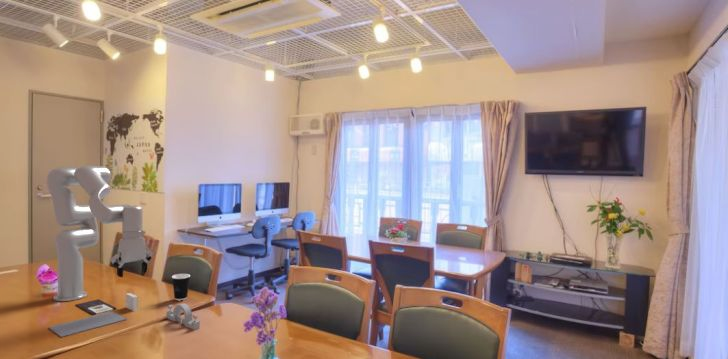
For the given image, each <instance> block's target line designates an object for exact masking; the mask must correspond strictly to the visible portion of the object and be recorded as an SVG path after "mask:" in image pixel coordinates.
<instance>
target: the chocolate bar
mask: <svg viewBox="0 0 728 359" xmlns="http://www.w3.org/2000/svg"><path fill="white" fill-rule="evenodd" d="M75 307H77V308H79V309H81V310H83V311H84V312H87V313H88V314H90V315H91V316H96V315H100V314H104V313H108V312H112V311H116V310H117V307H115V306H114V305H111V304H109V303H107V302H106V301H103V300H101V299H99V298H98V299H94V300H90V301H84V302H81V303H77V304H75Z"/></svg>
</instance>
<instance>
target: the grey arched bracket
mask: <svg viewBox="0 0 728 359" xmlns="http://www.w3.org/2000/svg"><path fill="white" fill-rule="evenodd" d="M167 308H168V309H169V310H167V311H166V313H165V314H166V317H165V318H166V319H168V320H171V321H173V322H178V323H180V324H182V325H184V327H187V328H189V329H190V330H191V329H192V330H194V331H195V330H198V329H200V327H201V321H200V320H198V317H199V315H198V314H193V312H192V309H191V308H190V306H189V305H188V304H187V303H185V302H184V303H183V302H182V303H179V304H176V305H175V306H174V308H173V304H168V305H167ZM181 313H183V315H184V317H182V316H181V315H182V314H181ZM193 319H194V320H193Z"/></svg>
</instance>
